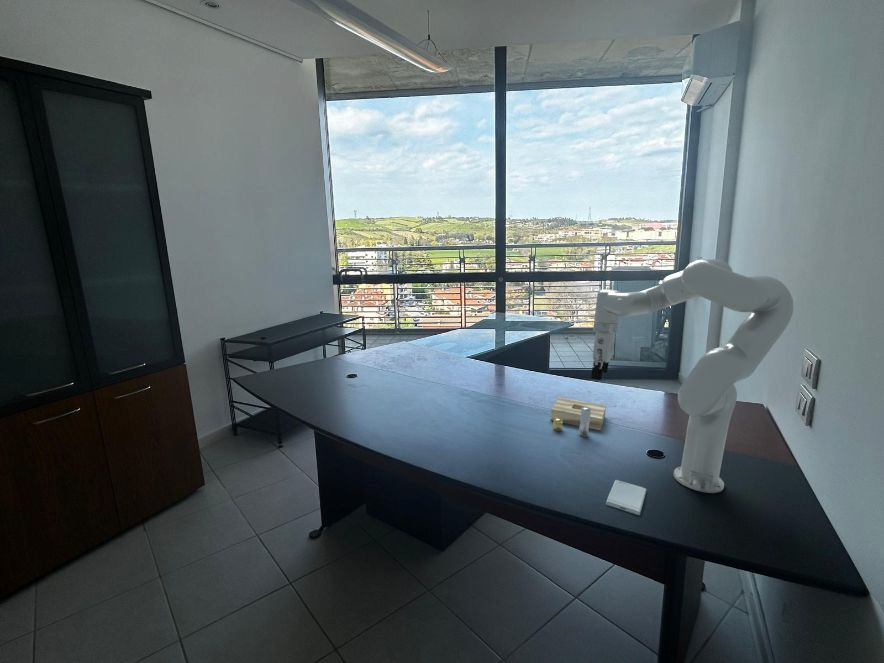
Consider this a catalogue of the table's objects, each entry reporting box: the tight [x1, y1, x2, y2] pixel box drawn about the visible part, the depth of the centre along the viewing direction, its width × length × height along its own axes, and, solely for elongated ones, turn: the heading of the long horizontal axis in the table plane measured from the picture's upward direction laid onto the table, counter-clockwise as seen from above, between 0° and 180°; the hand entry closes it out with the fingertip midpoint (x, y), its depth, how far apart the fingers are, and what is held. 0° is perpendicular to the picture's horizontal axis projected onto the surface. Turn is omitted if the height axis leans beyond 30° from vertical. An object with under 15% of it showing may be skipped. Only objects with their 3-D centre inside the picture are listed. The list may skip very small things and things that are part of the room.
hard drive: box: [605, 479, 647, 516], centre depth 117 cm, size 2×8×12 cm
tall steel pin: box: [578, 406, 591, 438], centre depth 153 cm, size 3×3×10 cm
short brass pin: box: [552, 417, 564, 432], centre depth 157 cm, size 3×3×4 cm
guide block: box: [550, 396, 607, 431], centre depth 167 cm, size 14×18×4 cm
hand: (599, 375), depth 151 cm, fingers open, 9 cm apart
